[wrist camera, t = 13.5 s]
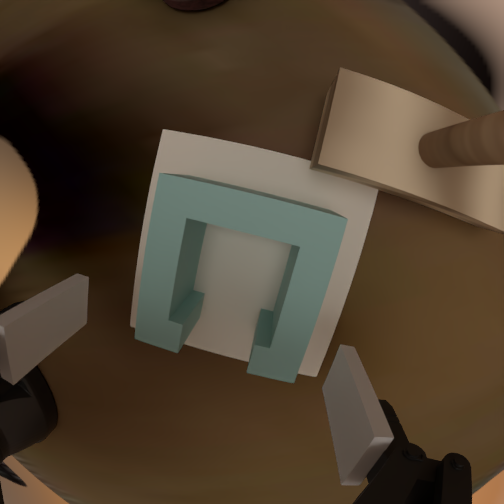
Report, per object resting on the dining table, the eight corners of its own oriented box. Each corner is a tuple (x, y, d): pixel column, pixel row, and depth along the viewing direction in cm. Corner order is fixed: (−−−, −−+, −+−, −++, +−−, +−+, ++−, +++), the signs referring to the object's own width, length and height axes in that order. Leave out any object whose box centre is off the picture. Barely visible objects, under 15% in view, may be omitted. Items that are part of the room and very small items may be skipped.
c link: (189, 175, 19) (159, 172, 14) (331, 210, 19) (347, 219, 14) (164, 306, 21) (134, 338, 16) (292, 341, 21) (293, 383, 16)
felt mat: (131, 324, 22) (130, 326, 22) (164, 129, 19) (163, 129, 19) (315, 374, 22) (316, 377, 21) (379, 182, 19) (380, 181, 18)
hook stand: (308, 169, 19) (346, 147, 8) (326, 94, 18) (374, -1, 6) (478, 227, 18) (596, 265, 7) (491, 161, 17) (611, 160, 6)
